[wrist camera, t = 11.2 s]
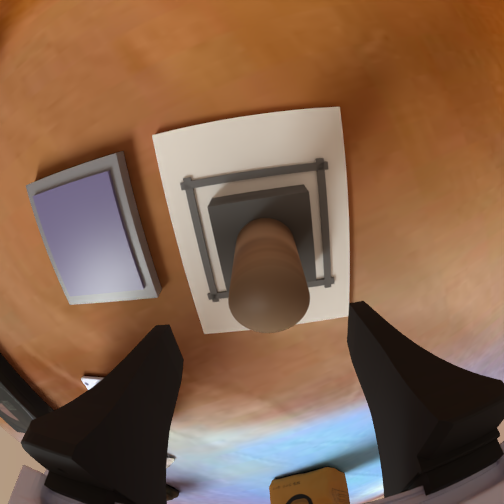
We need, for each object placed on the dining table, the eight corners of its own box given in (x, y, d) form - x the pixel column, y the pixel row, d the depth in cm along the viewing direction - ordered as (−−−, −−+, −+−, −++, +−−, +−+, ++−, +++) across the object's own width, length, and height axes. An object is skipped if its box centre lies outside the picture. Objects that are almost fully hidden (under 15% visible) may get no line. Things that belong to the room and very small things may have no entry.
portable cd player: (26, 419, 38) (19, 433, 35) (-32, 356, 32) (-42, 370, 28) (69, 421, 35) (61, 439, 32) (-4, 344, 29) (-17, 361, 25)
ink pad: (161, 288, 23) (156, 299, 22) (75, 297, 24) (68, 306, 22) (123, 150, 18) (114, 153, 17) (34, 181, 19) (23, 186, 18)
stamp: (311, 266, 21) (336, 341, 14) (229, 277, 22) (217, 356, 15) (303, 184, 19) (334, 229, 12) (211, 198, 19) (185, 250, 12)
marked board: (347, 312, 24) (349, 317, 23) (205, 330, 25) (203, 335, 24) (337, 106, 17) (340, 106, 16) (154, 134, 18) (151, 135, 17)
